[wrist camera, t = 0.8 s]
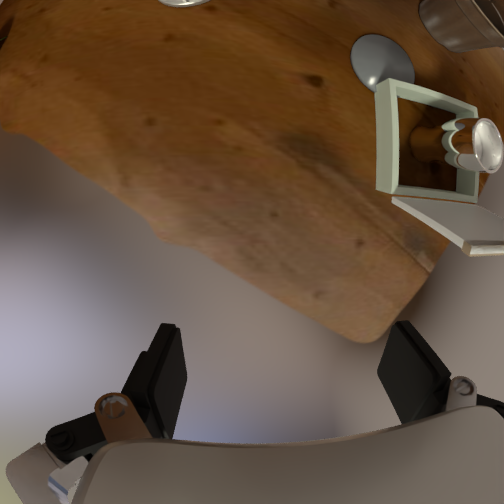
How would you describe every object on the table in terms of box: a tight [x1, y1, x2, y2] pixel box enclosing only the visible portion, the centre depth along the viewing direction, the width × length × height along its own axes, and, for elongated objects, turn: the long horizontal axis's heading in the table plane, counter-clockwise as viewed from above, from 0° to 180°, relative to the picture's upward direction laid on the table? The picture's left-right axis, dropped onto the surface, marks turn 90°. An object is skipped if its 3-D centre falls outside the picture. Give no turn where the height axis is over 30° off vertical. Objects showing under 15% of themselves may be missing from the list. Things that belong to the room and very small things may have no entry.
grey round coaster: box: [350, 35, 415, 97], centre depth 30 cm, size 11×11×1 cm
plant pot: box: [419, 0, 504, 53], centre depth 18 cm, size 16×16×16 cm
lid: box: [392, 197, 504, 256], centre depth 24 cm, size 16×18×1 cm
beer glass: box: [410, 118, 503, 173], centre depth 27 cm, size 7×7×15 cm
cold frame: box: [375, 78, 479, 203], centre depth 31 cm, size 16×18×5 cm
